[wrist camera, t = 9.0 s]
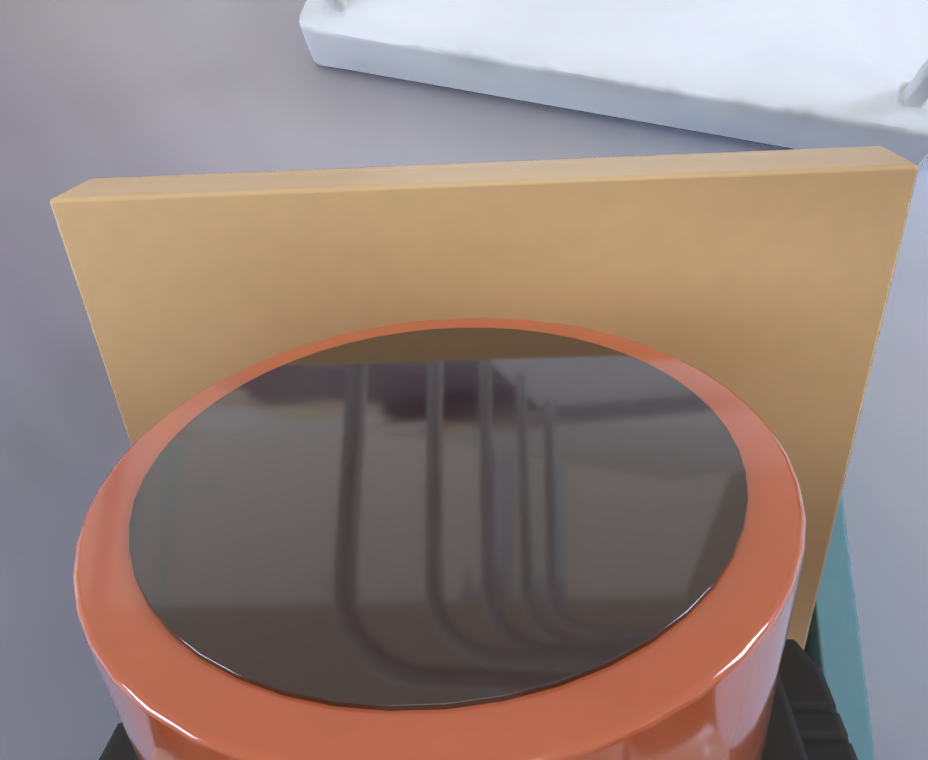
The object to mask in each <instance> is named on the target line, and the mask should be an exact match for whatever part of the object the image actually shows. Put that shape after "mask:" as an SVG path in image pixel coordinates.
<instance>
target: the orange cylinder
mask: <svg viewBox="0 0 928 760" xmlns="http://www.w3.org/2000/svg"><path fill="white" fill-rule="evenodd" d="M805 531H806V516H805V510H804V505H803V499H802V493H801V488H800V485H799V482H798V480H797V477H796V475H795V472H794V470H793V467H792V465H791V462H790V460H789V457H788V455H787V454H786V452H785V450H784V449H783V447H782V446H781V444H780V443H779V441H778V439H777V438H776V436H775V435H774V433H773V432H772V430H771V429H770V428H769V427H768V426H767V424H766V423H765V422H764V421H763V420H762V419H761V418H760V417H759V416H758V414H757V413H756V412H755V411H754V410H753V409H752V408H751V407H750V406H749V405H748V404H746V403H745V402H744V401H743V400H742V399H741V398H739V397H738V396H737V395H736V394H735V393H733V392H732V391H731V390H730V389H729V388H727V387H726V386H724V385H723V384H721V383H720V382H718V381H717V380H715V379H714V378H712V377H711V376H709V375H708V374H706V373H705V372H703V371H701V370H699V369H697V368H695V367H693V366H691V365H690V364H688V363H686V362H684V361H682V360H680V359H678V358H676V357H674V356H671V355H669V354H666V353H664V352H662V351H659V350H657V349H654V348H652V347H650V346H647V345H644V344H641V343H638V342H635V341H632V340H628V339H625V338H622V337H619V336H615V335H611V334H607V333H603V332H599V331H595V330H591V329H586V328H581V327H575V326H570V325H564V324H558V323H550V322H541V321H533V320H521V319H503V318H456V319H437V320H426V321H416V322H407V323H399V324H393V325H387V326H380V327H374V328H369V329H364V330H360V331H355V332H350V333H346V334H341V335H337V336H334V337H330V338H326V339H323V340H319V341H316V342H312V343H308V344H305V345H303V346H300V347H297V348H294V349H291V350H288V351H285V352H282V353H279V354H277V355H274V356H272V357H269V358H267V359H265V360H262V361H260V362H257V363H255V364H253V365H250V366H248V367H246V368H244V369H242V370H240V371H238V372H236V373H234V374H232V375H230V376H228V377H226V378H224V379H222V380H220V381H218V382H216V383H214V384H213V385H211V386H209V387H208V388H206V389H204V390H203V391H201V392H199V393H198V394H196V395H194V396H193V397H191V398H189V399H188V400H187V401H185V402H184V403H182V404H181V405H180V406H178V407H177V408H175V409H174V410H173V411H171V412H170V413H168V414H167V415H166V416H164V417H163V418H162V419H161V420H160V421H158V422H157V423H156V424H155V425H154V426H153V427H152V428H150V429H149V430H148V431H147V432H146V433H145V434H143V435H142V436H141V437H140V438H139V439H138V440H137V441H136V442H135V443H134V445H133V446H132V447H131V448H130V449H129V450H128V451H127V452H126V453H125V454H124V455H123V456H122V457H121V458H120V460H119V461H118V462H117V463H116V465H115V466H114V468H113V469H112V470H111V472H110V473H109V475H108V476H107V477H106V479H105V480H104V481H103V483H102V484H101V486H100V487H99V489H98V491H97V493H96V495H95V497H94V499H93V501H92V503H91V505H90V507H89V509H88V511H87V513H86V515H85V518H84V522H83V525H82V528H81V531H80V534H79V538H78V541H77V544H76V552H75V562H74V572H73V588H74V596H75V604H76V612H77V617H78V619H79V622H80V624H81V627H82V630H83V632H84V635H85V637H86V640H87V643H88V645H89V648H90V650H91V653H92V655H93V657H94V659H95V662H96V664H97V666H98V669H99V671H100V673H101V675H102V678H103V680H104V682H105V684H106V687H107V689H108V691H109V694H110V696H111V698H112V700H113V703H114V705H115V707H116V710H117V712H118V714H119V716H120V719H121V721H122V723H123V725H124V728H125V730H126V732H127V735H128V737H129V739H130V741H131V744H132V746H133V748H134V750H135V753H136V755H137V757H138V760H762V756H763V751H764V746H765V741H766V737H767V732H768V727H769V722H770V717H771V712H772V708H773V703H774V698H775V693H776V688H777V683H778V678H779V674H780V669H781V664H782V659H783V654H784V649H785V645H786V640H787V635H788V630H789V625H790V620H791V616H792V611H793V606H794V601H795V596H796V591H797V587H798V582H799V577H800V572H801V567H802V562H803V557H804V551H805Z"/></svg>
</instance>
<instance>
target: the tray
mask: <svg viewBox="0 0 928 760" xmlns="http://www.w3.org/2000/svg"><path fill="white" fill-rule="evenodd" d="M804 651H805V652H806V653H807V654H808V655H809V657H810V658H811V659H812V660H813V661H814V662H815V663H816V664H817V665H818V667H819V668H820V669H821V670H822V672H823V674H824V677H825V679H826V682H827V684H828V687H829V689H830V692H831V694H832V697H833V699H834V702H835V704H836V711H837V713H839V714H840V716H841V719H842V721H843V724H844V726H845V729H846V731H847V734H848V740H849V743H852V746H853V748H854V751H855V753H856V756H857V758H858V760H875V759H874V750H873V742H872V734H871V726H870V718H869V710H868V702H867V694H866V686H865V678H864V670H863V662H862V654H861V645H860V637H859V629H858V621H857V613H856V605H855V597H854V589H853V581H852V573H851V565H850V557H849V548H848V540H847V532H846V524H845V516H844V508H843V500H842V492H841V497H840V501H839V505H838V509H837V513H836V518H835V522H834V526H833V530H832V534H831V539H830V543H829V547H828V551H827V555H826V560H825V564H824V568H823V572H822V577H821V581H820V585H819V589H818V593H817V598H816V602H815V606H814V610H813V614H812V619H811V623H810V627H809V631H808V635H807V640H806V644H805V648H804Z"/></svg>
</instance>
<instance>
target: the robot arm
mask: <svg viewBox="0 0 928 760" xmlns="http://www.w3.org/2000/svg"><path fill="white" fill-rule="evenodd" d="M99 760H138V757H137V755H136V753H135V750H134V748H133V746H132V744H131V741H130V739H129V737H128V735H127V732H126V730H125V728H124V725H123V723H121V724H118V725H117V727H116V729H115V731H114V733H113V735H112V737H111V738H110V740H109V742H108V744H107V746H106V748H105V750H104V752H103V753H102V755H101V757H100V759H99ZM762 760H858V758H857V756H856V753H855V751H854V748H853V746H852V743H849V740H848V734H847V731H846V729H845V726H844V724H843V721H842V719H841V716H840V714H839V713H837V711H836V704H835V702H834V699H833V697H832V694H831V692H830V689H829V687H828V684H827V682H826V679H825V677H824V674H823V672H822V670H821V669H820V668H819V667H818V665H817V664H816V663H815V662H814V661H813V660H812V659H811V658H810V657H809V655H808V654H807V653H806V652H805V651H804V650H803V649H802V648H801V647H800V645H799V644H798V643H797V642H796V641H795V640H794V639H787V640H786V645H785V649H784V654H783V659H782V664H781V669H780V674H779V678H778V683H777V688H776V693H775V698H774V703H773V708H772V712H771V717H770V722H769V727H768V732H767V737H766V741H765V746H764V751H763V756H762Z"/></svg>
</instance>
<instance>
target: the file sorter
mask: <svg viewBox="0 0 928 760" xmlns="http://www.w3.org/2000/svg"><path fill="white" fill-rule="evenodd" d="M299 23H300V27H301V30H302V32H303V35H304V37H305V40H306V43H307V45H308V48H309V50H310V53H311V56H312V58H313V60H314V61H315V62H316V63H317V64H319V65H322V66H329V67H335V68H341V69H347V70H353V71H359V72H364V73H370V74H375V75H381V76H386V77H392V78H398V79H404V80H409V81H415V82H421V83H427V84H432V85H438V86H444V87H449V88H455V89H460V90H466V91H472V92H477V93H483V94H488V95H494V96H500V97H505V98H511V99H517V100H522V101H528V102H534V103H539V104H545V105H551V106H556V107H562V108H568V109H573V110H579V111H585V112H591V113H596V114H602V115H608V116H613V117H619V118H625V119H630V120H636V121H642V122H647V123H653V124H658V125H664V126H670V127H675V128H681V129H687V130H692V131H698V132H704V133H709V134H715V135H720V136H726V137H732V138H737V139H743V140H748V141H754V142H760V143H765V144H771V145H776V146H782V147H788V148H793V149H816V148H840V147H864V146H882V147H884V148H886V149H888V150H890V151H892V152H894V153H896V154H897V155H899V156H901V157H903V158H905V159H907V160H909V161H910V162H912V163H914V164H916V165H917V166H919V165H921V164H922V162H923V161H924V160H925V159H926V157H927V156H928V0H306V3H305V5H304V7H303V10H302V12H301V14H300V19H299Z"/></svg>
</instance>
